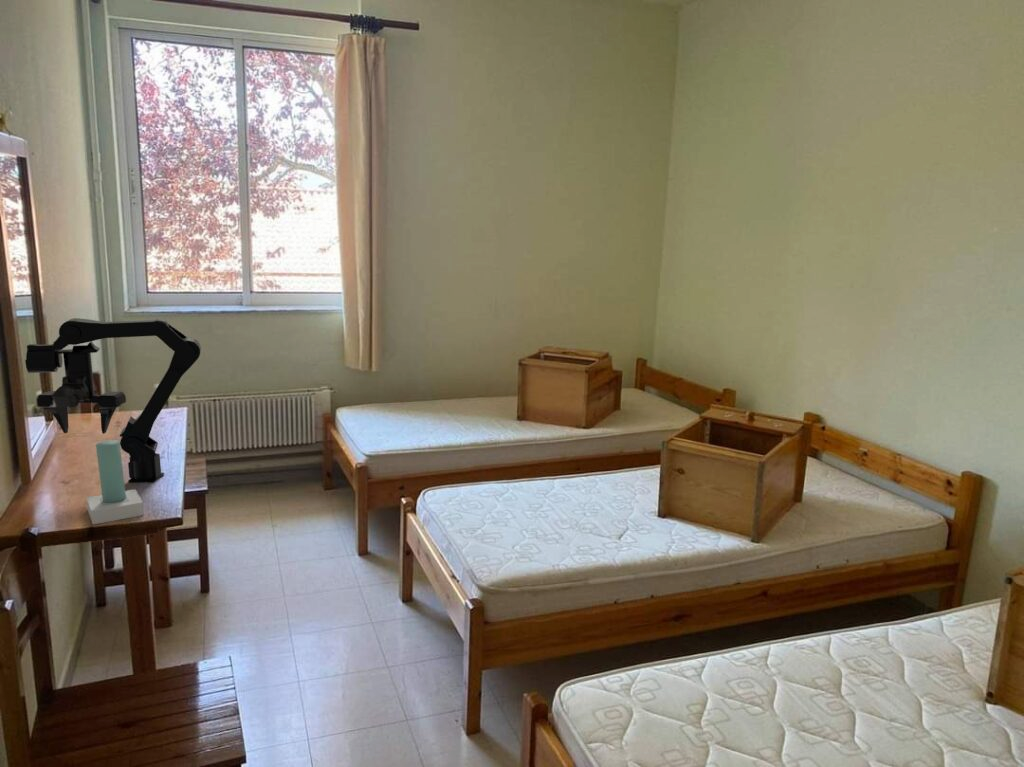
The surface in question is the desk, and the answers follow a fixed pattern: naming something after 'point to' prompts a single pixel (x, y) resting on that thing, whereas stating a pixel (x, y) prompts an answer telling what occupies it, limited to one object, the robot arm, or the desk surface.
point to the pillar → (111, 471)
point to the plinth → (114, 508)
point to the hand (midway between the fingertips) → (85, 433)
